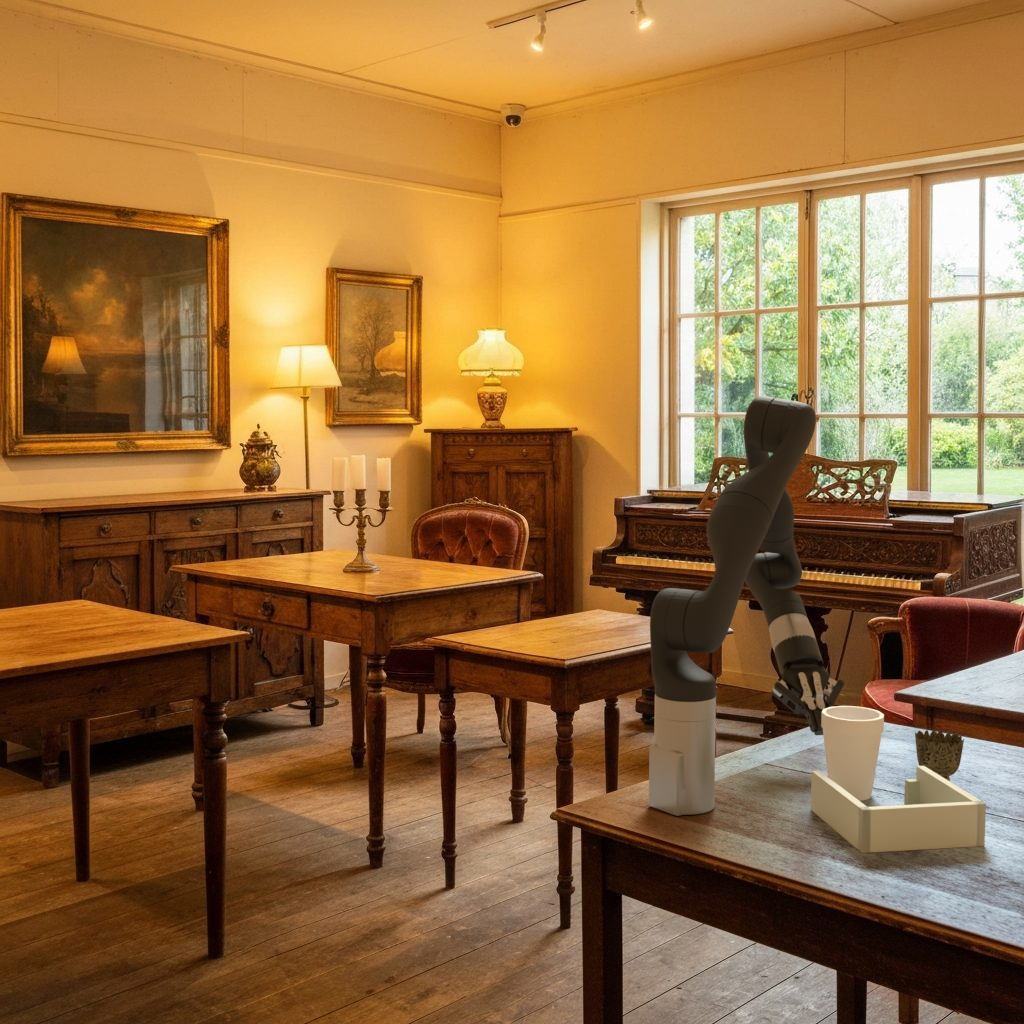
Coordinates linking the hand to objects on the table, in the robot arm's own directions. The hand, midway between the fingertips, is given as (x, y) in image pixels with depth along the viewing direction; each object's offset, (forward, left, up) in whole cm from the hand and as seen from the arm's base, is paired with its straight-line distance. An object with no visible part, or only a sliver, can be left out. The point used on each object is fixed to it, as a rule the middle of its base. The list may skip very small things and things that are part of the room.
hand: (821, 732), depth 204 cm
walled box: (-13, -23, -7) cm, 28 cm away
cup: (+10, -16, -7) cm, 20 cm away
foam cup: (-6, -10, -7) cm, 14 cm away
